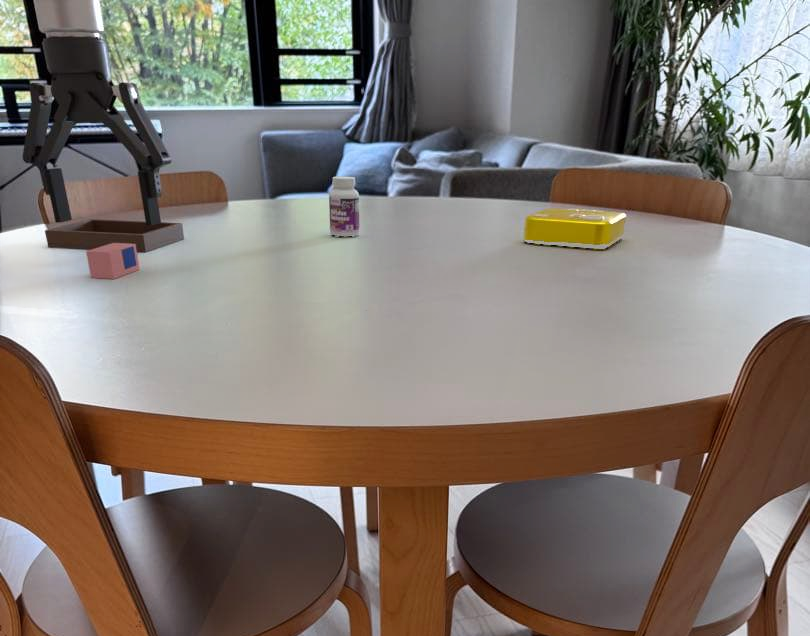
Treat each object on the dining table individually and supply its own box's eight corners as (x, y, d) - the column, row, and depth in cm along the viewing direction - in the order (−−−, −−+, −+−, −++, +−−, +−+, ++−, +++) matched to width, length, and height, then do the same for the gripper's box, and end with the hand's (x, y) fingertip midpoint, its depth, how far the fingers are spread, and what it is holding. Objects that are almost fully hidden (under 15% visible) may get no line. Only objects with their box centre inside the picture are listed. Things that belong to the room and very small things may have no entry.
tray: (48, 247, 124) (44, 230, 123) (93, 234, 136) (91, 219, 134) (145, 252, 121) (143, 235, 120) (184, 238, 132) (182, 223, 131)
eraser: (114, 279, 103) (109, 252, 102) (90, 277, 104) (85, 251, 102) (140, 269, 109) (135, 243, 107) (117, 268, 110) (113, 242, 108)
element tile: (624, 238, 137) (629, 210, 135) (605, 251, 126) (610, 220, 123) (545, 232, 143) (548, 204, 141) (520, 243, 131) (522, 214, 129)
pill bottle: (328, 237, 135) (325, 178, 130) (332, 232, 140) (330, 175, 135) (357, 238, 135) (356, 178, 130) (361, 233, 139) (360, 176, 135)
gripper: (181, 37, 93) (204, 221, 104) (4, 40, 98) (44, 216, 109) (151, 33, 87) (179, 229, 98) (-37, 36, 91) (10, 223, 102)
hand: (108, 223), depth 103 cm, fingers open, 13 cm apart
